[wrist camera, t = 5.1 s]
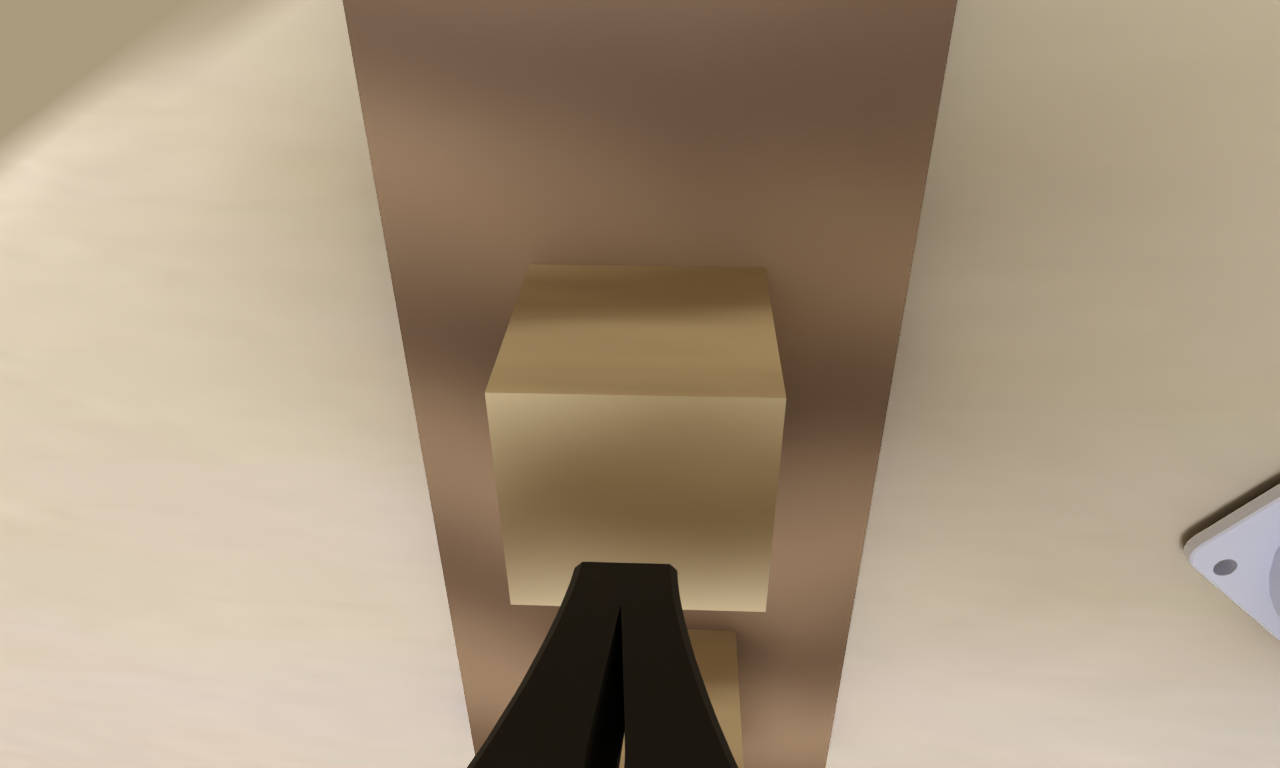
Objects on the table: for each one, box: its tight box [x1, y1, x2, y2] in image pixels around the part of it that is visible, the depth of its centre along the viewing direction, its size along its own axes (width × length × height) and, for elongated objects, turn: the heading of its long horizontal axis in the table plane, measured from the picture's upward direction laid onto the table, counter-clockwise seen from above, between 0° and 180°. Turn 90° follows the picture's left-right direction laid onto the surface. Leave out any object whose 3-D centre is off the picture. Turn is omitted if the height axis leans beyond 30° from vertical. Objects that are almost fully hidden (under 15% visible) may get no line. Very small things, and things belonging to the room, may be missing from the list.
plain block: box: [485, 264, 786, 612], centre depth 16 cm, size 4×4×4 cm
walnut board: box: [343, 0, 957, 768], centre depth 19 cm, size 28×10×1 cm, turn 1°
